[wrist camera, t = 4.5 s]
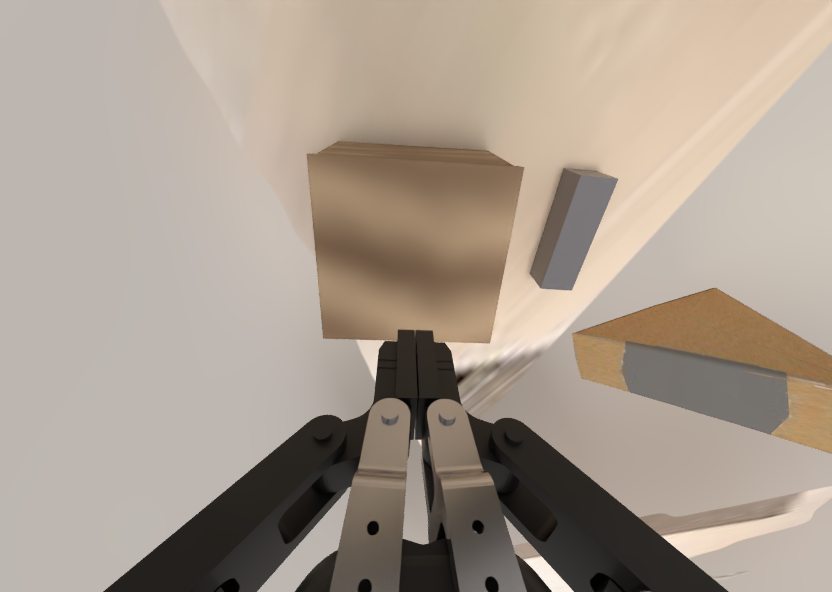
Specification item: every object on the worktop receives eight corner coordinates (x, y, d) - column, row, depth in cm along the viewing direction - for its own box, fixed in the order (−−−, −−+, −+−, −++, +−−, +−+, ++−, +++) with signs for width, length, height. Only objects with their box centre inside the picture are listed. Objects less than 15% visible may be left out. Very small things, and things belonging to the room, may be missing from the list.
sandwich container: (569, 332, 36) (660, 459, 23) (716, 284, 33) (914, 400, 20) (579, 379, 40) (660, 509, 27) (710, 341, 37) (869, 466, 24)
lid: (311, 153, 18) (307, 154, 17) (518, 166, 19) (524, 167, 18) (326, 331, 24) (323, 338, 23) (486, 335, 24) (489, 343, 23)
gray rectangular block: (562, 167, 26) (580, 175, 23) (596, 171, 26) (618, 178, 24) (529, 272, 31) (540, 288, 29) (557, 274, 32) (571, 290, 29)
